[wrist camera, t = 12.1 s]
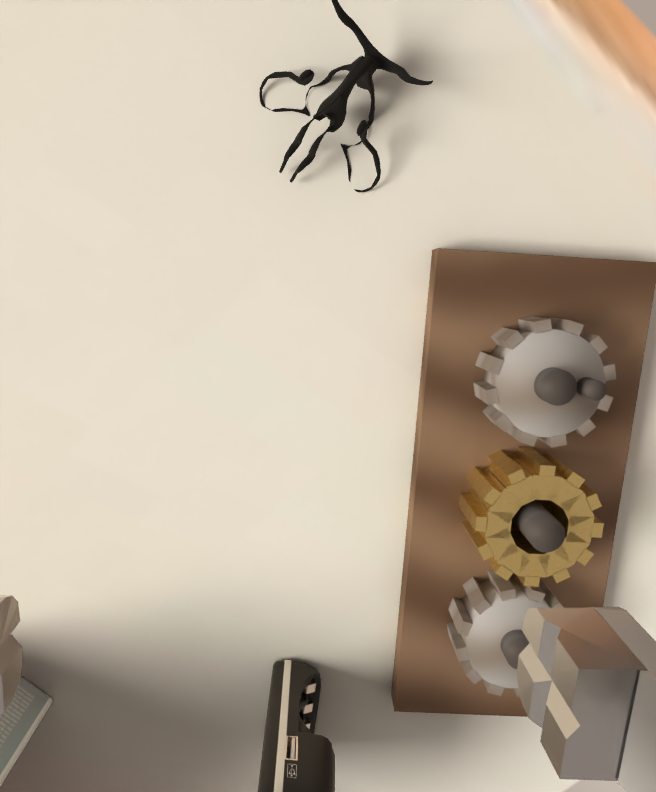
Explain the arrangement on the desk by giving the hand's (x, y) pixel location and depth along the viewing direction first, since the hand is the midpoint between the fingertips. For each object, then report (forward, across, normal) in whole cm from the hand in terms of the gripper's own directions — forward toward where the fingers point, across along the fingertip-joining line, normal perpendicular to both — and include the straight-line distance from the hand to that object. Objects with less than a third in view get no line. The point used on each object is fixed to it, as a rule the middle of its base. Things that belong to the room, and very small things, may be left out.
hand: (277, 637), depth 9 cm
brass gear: (+23, -13, +7) cm, 27 cm away
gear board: (+24, -13, +7) cm, 28 cm away
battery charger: (+24, -1, +22) cm, 33 cm away
